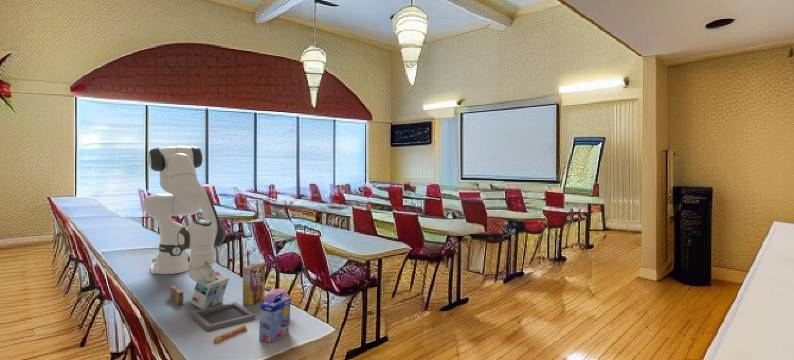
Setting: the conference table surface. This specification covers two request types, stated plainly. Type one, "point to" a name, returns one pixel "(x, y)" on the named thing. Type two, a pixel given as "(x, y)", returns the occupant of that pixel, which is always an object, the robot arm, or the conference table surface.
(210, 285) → the light bulb box
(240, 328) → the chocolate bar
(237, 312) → the grey shallow rectangular tray
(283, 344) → the conference table surface
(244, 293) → the candy box
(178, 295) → the wooden blocks
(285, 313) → the ink cartridge box
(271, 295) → the cupcake
